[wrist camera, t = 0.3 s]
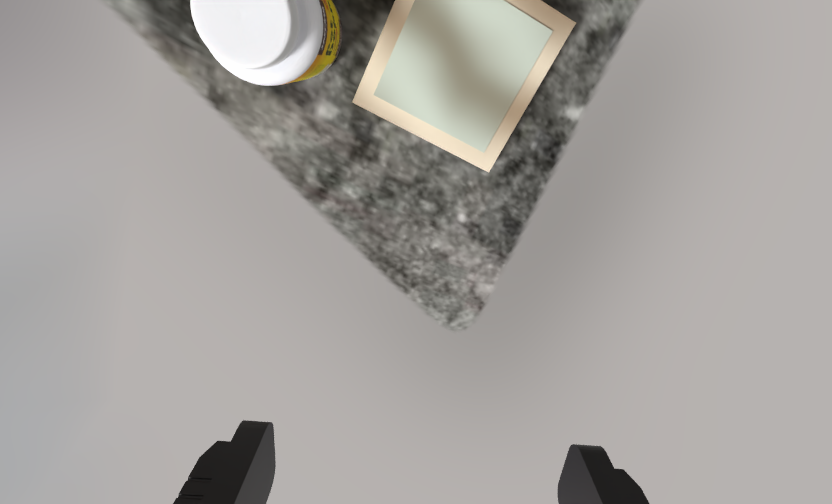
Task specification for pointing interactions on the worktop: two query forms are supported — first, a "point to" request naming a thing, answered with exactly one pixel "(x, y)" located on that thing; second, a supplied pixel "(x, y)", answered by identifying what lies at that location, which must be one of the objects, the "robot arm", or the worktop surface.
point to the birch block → (462, 70)
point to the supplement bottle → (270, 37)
